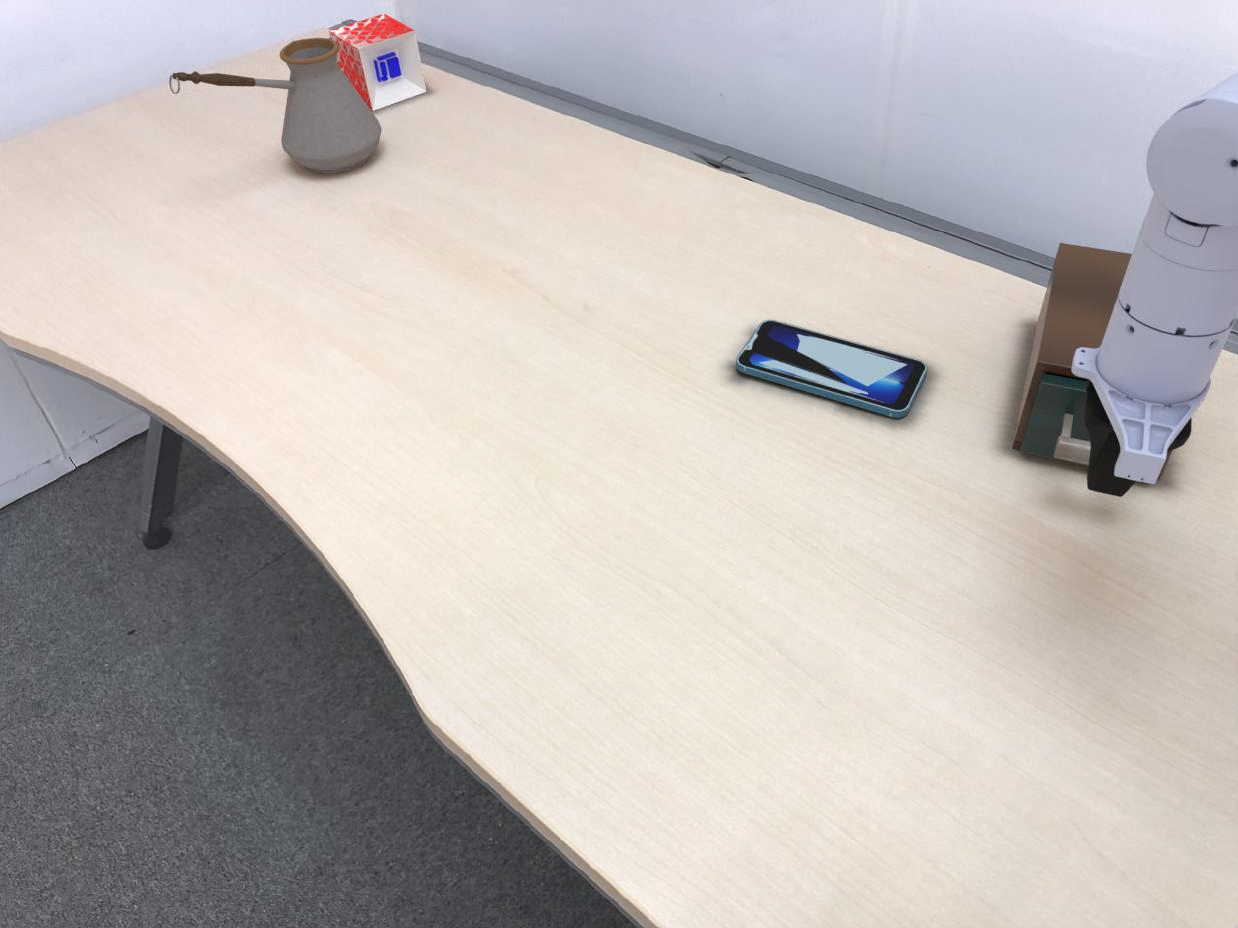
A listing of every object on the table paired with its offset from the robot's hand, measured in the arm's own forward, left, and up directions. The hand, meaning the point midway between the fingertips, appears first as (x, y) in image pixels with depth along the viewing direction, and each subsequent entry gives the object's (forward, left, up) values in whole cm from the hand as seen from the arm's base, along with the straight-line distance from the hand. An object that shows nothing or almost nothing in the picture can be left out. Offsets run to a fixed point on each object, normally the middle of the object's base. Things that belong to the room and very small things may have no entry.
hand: (1105, 486), depth 64 cm
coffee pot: (+92, -17, -10) cm, 94 cm away
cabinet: (+4, -20, -9) cm, 23 cm away
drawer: (+3, -17, -8) cm, 19 cm away
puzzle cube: (+98, -38, -10) cm, 105 cm away
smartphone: (+24, -13, -9) cm, 28 cm away
